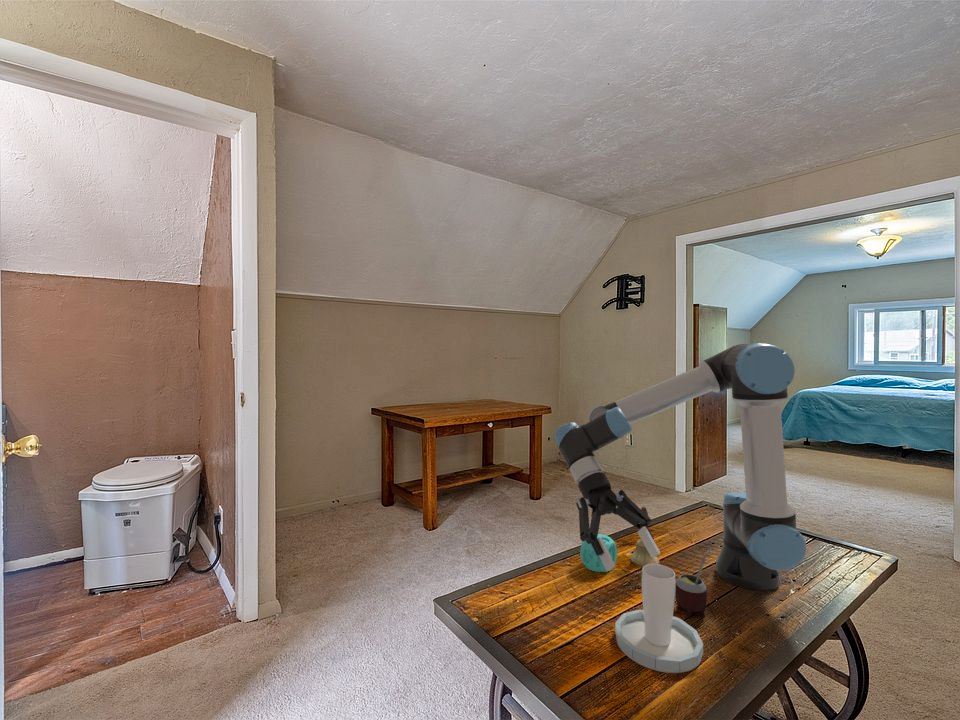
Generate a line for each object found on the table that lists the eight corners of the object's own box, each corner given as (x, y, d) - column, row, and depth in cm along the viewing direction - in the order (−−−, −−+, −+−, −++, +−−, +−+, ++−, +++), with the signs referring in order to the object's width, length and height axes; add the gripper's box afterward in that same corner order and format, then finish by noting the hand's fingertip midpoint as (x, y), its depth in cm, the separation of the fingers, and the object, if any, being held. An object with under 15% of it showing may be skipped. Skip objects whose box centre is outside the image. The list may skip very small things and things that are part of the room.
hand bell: (637, 567, 131) (638, 513, 130) (625, 554, 139) (625, 503, 138) (664, 565, 132) (665, 511, 131) (650, 553, 140) (650, 502, 140)
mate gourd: (672, 614, 108) (672, 552, 107) (678, 599, 114) (679, 540, 114) (706, 625, 103) (707, 560, 103) (711, 609, 110) (712, 548, 109)
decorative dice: (592, 557, 137) (592, 531, 137) (617, 565, 132) (617, 538, 132) (579, 567, 131) (579, 539, 131) (605, 575, 126) (605, 547, 126)
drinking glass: (677, 652, 93) (679, 580, 92) (643, 648, 94) (644, 577, 94) (671, 632, 99) (672, 565, 99) (638, 628, 101) (639, 561, 100)
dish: (687, 624, 104) (687, 613, 104) (713, 677, 87) (714, 665, 87) (611, 617, 106) (611, 607, 106) (622, 667, 90) (622, 655, 90)
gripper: (620, 479, 123) (664, 557, 109) (543, 493, 111) (582, 581, 98) (635, 464, 118) (683, 544, 105) (556, 477, 107) (599, 567, 94)
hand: (634, 562), depth 101 cm, fingers open, 13 cm apart
